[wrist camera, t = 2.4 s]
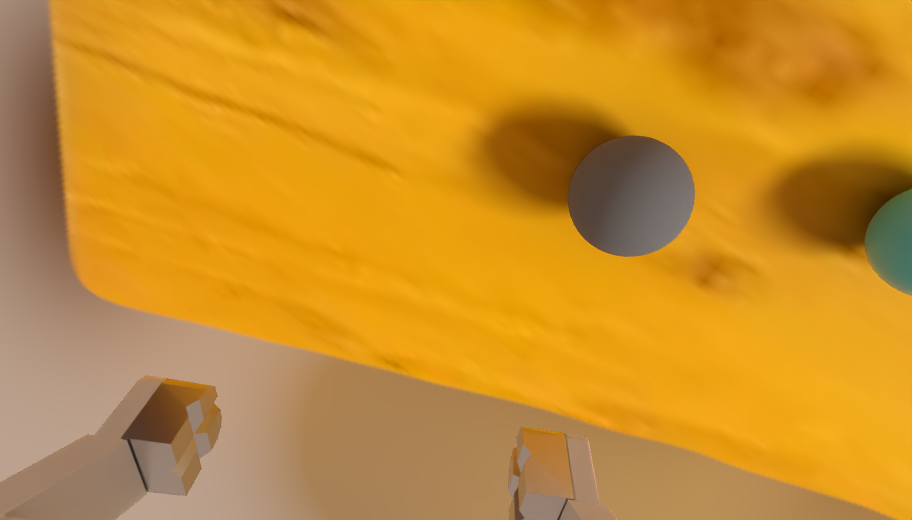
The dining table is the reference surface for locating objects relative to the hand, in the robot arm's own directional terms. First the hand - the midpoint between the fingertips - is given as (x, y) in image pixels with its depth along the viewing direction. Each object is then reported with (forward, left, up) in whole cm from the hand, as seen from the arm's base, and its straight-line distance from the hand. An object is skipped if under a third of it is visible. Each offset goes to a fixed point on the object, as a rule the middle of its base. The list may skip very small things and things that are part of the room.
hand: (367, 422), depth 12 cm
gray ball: (+8, +5, -14) cm, 17 cm away
